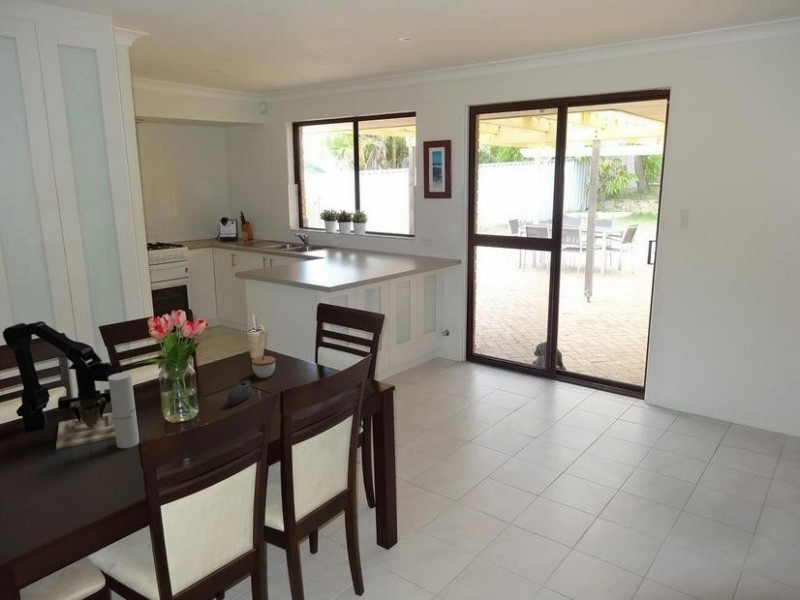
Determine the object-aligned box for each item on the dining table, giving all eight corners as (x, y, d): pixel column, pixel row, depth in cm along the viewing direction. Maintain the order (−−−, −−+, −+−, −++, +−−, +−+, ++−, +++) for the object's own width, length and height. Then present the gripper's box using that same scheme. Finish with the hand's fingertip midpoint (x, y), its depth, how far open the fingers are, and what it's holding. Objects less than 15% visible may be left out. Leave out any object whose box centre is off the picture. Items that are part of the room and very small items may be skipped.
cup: (79, 431, 204) (76, 410, 202) (80, 423, 210) (77, 403, 208) (103, 427, 207) (100, 406, 205) (102, 419, 213) (100, 399, 212)
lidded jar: (273, 379, 258) (272, 360, 256) (249, 379, 259) (248, 360, 257) (278, 371, 269) (277, 352, 267) (256, 371, 269) (254, 352, 267)
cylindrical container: (143, 440, 201) (136, 373, 195) (128, 449, 194) (119, 380, 188) (127, 437, 203) (119, 371, 197) (112, 446, 196) (103, 378, 191)
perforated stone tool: (234, 409, 227) (232, 393, 225) (223, 407, 228) (221, 391, 227) (255, 395, 241) (254, 380, 239) (245, 394, 242) (243, 378, 241)
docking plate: (56, 449, 194) (55, 442, 194) (59, 424, 213) (58, 418, 213) (127, 435, 204) (126, 428, 204) (124, 413, 223) (123, 407, 223)
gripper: (54, 392, 193) (60, 434, 197) (115, 382, 202) (120, 423, 205) (56, 381, 203) (62, 422, 206) (114, 373, 211) (118, 412, 215)
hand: (90, 420), depth 208 cm, fingers closed on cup, 6 cm apart
